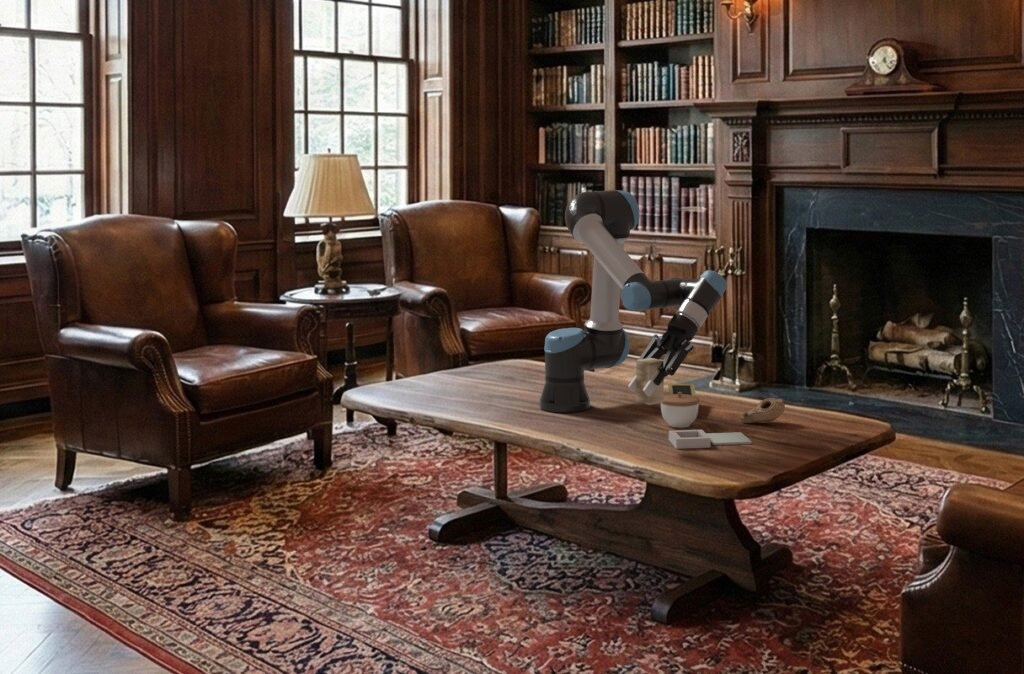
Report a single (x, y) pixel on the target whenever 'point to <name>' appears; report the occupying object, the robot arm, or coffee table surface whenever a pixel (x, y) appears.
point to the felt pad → (728, 438)
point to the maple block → (643, 375)
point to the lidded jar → (679, 409)
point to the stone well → (689, 439)
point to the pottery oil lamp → (764, 411)
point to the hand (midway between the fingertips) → (639, 391)
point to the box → (682, 389)
